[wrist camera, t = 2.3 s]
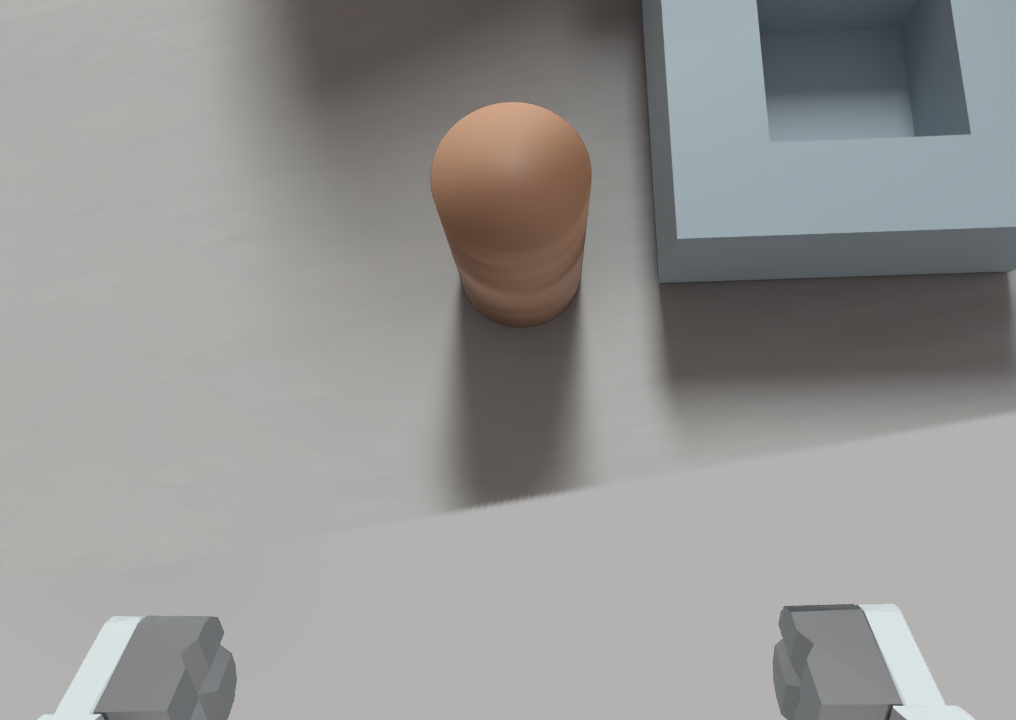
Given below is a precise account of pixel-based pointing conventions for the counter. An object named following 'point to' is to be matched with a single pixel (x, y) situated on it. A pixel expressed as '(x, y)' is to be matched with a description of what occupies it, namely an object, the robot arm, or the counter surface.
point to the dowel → (514, 209)
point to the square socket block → (831, 137)
